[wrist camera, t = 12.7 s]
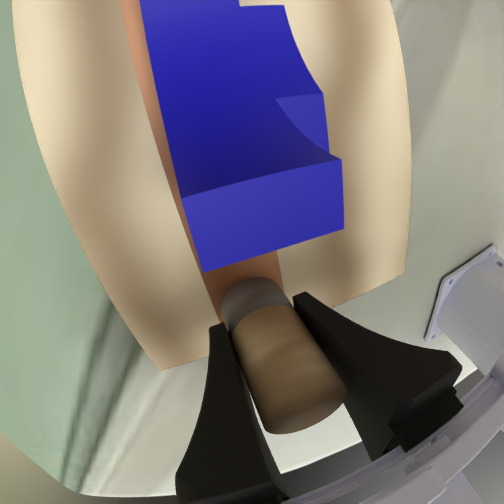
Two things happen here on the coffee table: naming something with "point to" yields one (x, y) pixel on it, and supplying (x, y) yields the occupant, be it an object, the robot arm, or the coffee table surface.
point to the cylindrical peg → (279, 358)
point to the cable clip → (242, 128)
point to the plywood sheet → (163, 175)
